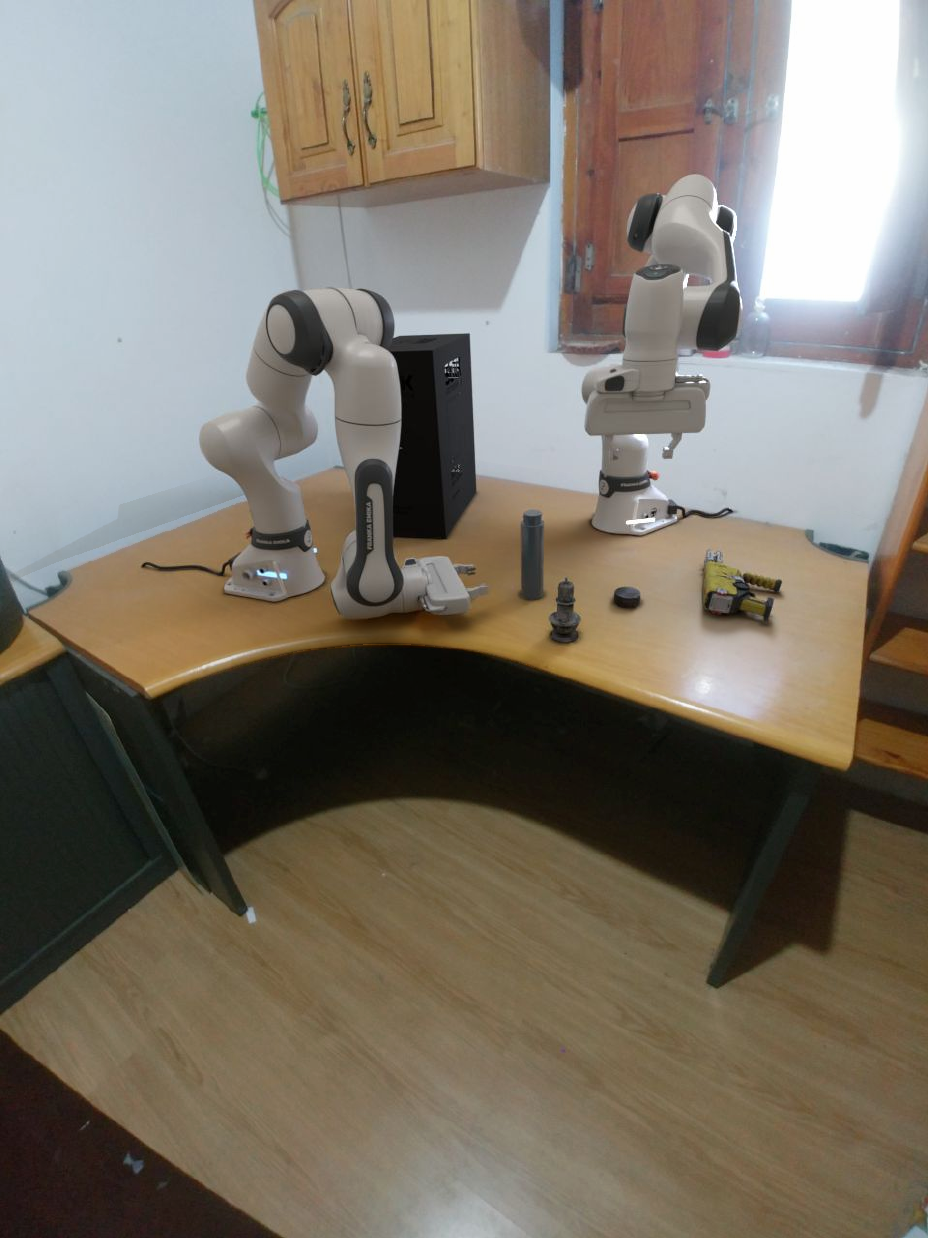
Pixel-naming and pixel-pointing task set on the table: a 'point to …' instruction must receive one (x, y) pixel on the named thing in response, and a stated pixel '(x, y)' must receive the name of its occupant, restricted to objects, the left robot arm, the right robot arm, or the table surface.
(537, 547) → the grey cylindrical piece
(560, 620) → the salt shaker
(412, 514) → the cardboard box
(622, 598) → the lid
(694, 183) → the right robot arm
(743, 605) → the toy gun
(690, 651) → the table surface
